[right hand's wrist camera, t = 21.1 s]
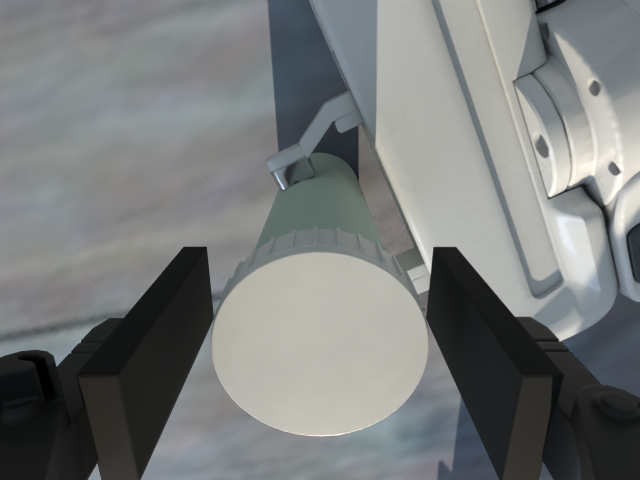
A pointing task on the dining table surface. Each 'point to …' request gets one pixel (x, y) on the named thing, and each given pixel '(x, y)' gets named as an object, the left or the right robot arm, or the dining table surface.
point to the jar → (322, 203)
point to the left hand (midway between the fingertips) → (303, 232)
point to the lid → (319, 333)
